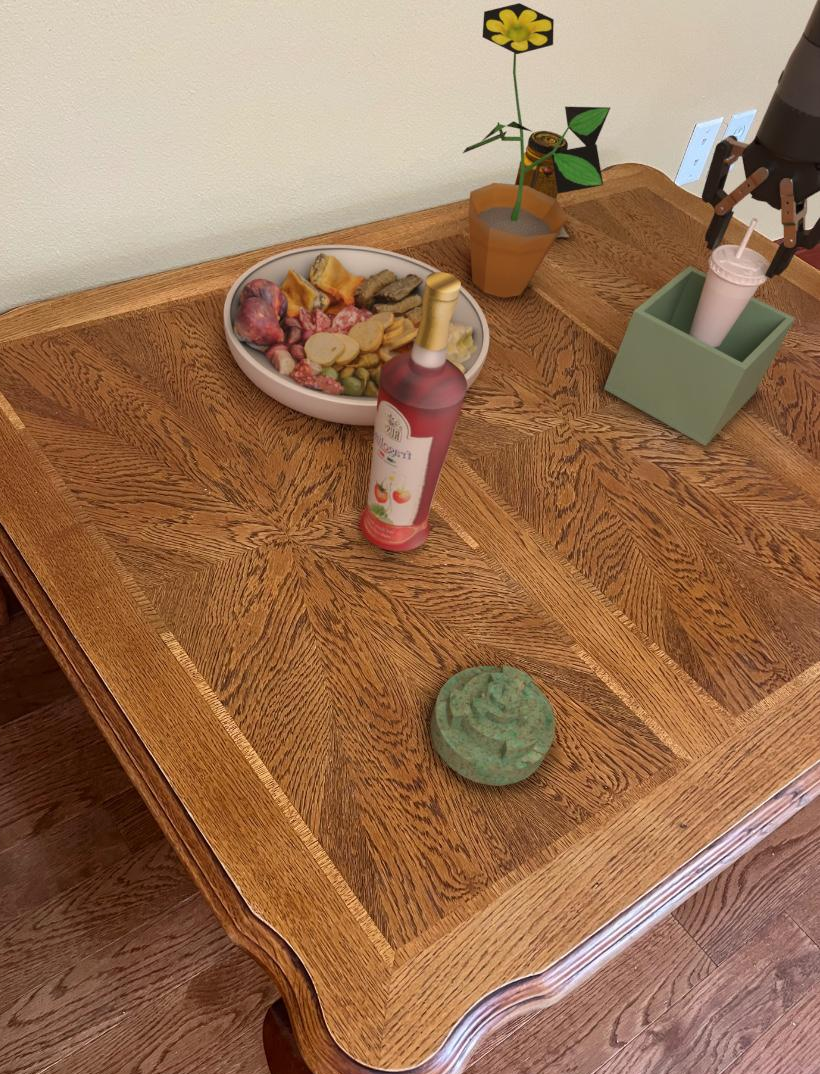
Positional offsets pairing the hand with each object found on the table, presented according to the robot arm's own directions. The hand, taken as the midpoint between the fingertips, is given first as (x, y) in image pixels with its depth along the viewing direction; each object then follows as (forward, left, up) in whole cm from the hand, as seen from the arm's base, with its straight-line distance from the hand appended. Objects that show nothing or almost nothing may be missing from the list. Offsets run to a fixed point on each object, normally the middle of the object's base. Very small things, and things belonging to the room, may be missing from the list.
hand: (741, 260), depth 99 cm
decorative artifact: (+55, +10, -18) cm, 59 cm away
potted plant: (-2, -28, -18) cm, 33 cm away
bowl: (+24, -31, -18) cm, 43 cm away
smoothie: (0, 0, -10) cm, 10 cm away
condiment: (-18, -33, -18) cm, 41 cm away
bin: (0, 0, -17) cm, 17 cm away
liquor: (+43, -10, -18) cm, 48 cm away
